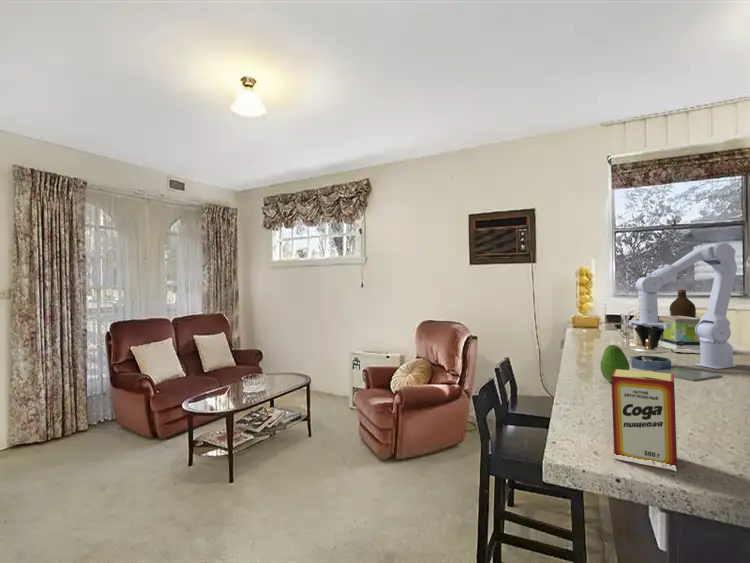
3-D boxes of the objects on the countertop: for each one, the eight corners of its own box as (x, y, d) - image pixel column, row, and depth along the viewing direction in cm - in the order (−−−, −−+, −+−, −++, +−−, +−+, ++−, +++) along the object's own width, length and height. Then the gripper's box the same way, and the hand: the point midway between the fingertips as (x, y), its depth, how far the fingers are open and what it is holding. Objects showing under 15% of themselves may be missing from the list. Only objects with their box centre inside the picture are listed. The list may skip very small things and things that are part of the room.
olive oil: (699, 338, 206) (698, 289, 206) (693, 341, 199) (691, 290, 199) (674, 336, 214) (673, 289, 214) (667, 339, 208) (665, 290, 208)
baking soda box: (614, 459, 76) (611, 374, 76) (617, 447, 81) (614, 367, 81) (677, 471, 71) (674, 379, 71) (676, 457, 76) (673, 372, 76)
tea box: (703, 353, 169) (702, 318, 169) (676, 353, 171) (674, 318, 171) (683, 347, 183) (682, 315, 183) (658, 347, 185) (657, 315, 185)
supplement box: (653, 344, 196) (652, 316, 196) (656, 345, 191) (655, 317, 191) (633, 343, 198) (632, 316, 198) (636, 345, 194) (635, 317, 194)
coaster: (680, 369, 144) (680, 367, 144) (721, 376, 132) (721, 375, 132) (653, 372, 140) (653, 371, 140) (693, 381, 128) (693, 379, 128)
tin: (647, 362, 156) (646, 354, 156) (678, 368, 145) (678, 359, 145) (623, 365, 153) (623, 357, 153) (653, 371, 141) (653, 363, 141)
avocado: (601, 384, 128) (600, 346, 128) (600, 378, 135) (598, 342, 135) (631, 386, 124) (630, 347, 124) (628, 380, 131) (626, 343, 131)
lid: (646, 347, 157) (646, 335, 157) (679, 352, 145) (679, 339, 145) (622, 350, 153) (621, 338, 153) (653, 355, 141) (653, 342, 141)
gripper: (622, 309, 155) (623, 345, 155) (659, 311, 141) (661, 350, 141) (636, 308, 157) (637, 343, 157) (674, 310, 143) (675, 349, 143)
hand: (649, 346), depth 149 cm, fingers closed on lid, 3 cm apart
